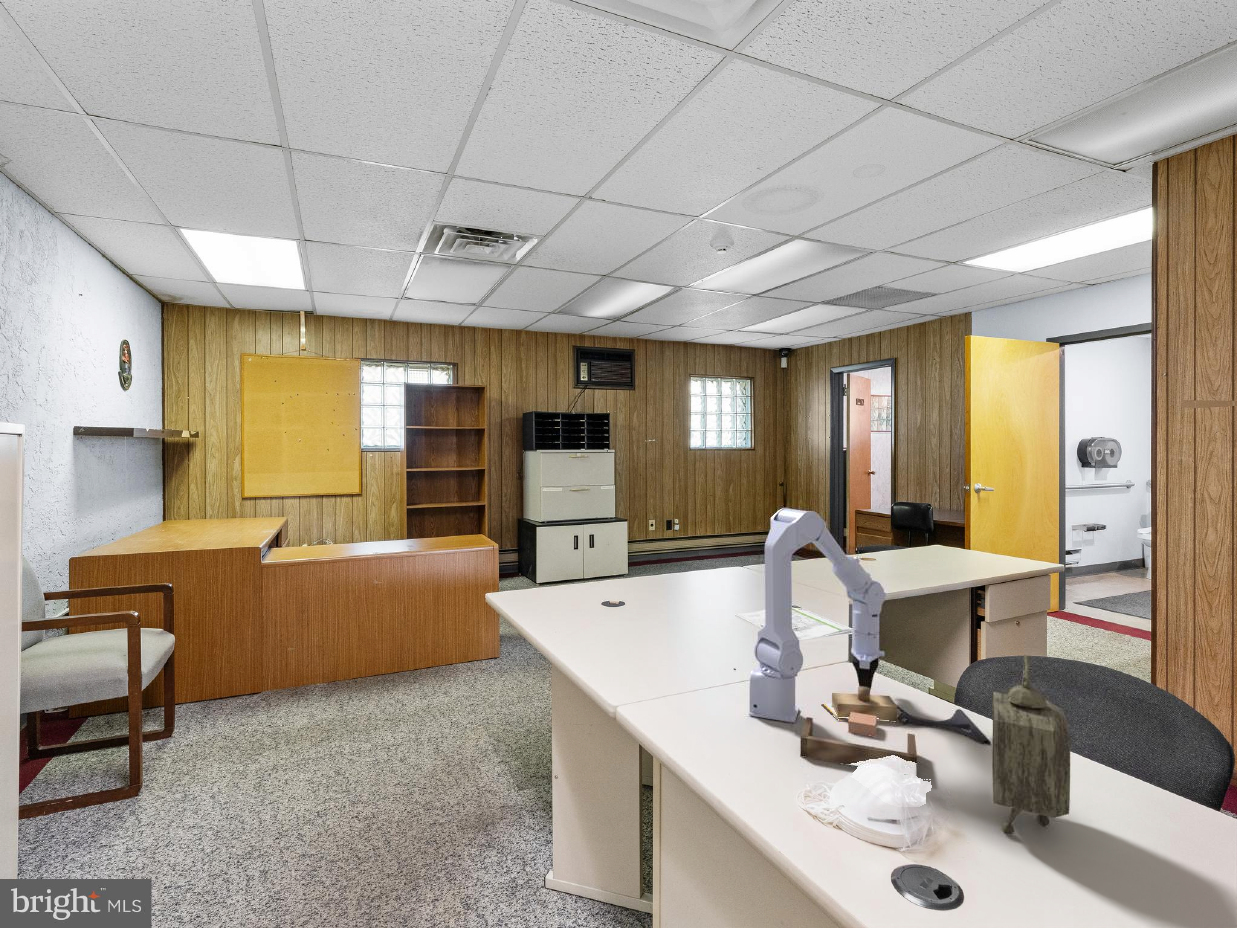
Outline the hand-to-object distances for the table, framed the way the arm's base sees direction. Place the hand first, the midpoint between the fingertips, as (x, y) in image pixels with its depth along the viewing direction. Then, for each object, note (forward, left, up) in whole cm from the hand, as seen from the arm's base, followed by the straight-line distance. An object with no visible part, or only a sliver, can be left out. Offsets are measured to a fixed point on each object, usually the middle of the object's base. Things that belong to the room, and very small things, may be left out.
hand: (865, 690), depth 142 cm
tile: (0, -18, -2) cm, 18 cm away
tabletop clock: (+24, -42, -2) cm, 48 cm away
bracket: (+14, -10, -2) cm, 17 cm away
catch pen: (0, -29, -2) cm, 30 cm away
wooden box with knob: (0, -10, -2) cm, 10 cm away
